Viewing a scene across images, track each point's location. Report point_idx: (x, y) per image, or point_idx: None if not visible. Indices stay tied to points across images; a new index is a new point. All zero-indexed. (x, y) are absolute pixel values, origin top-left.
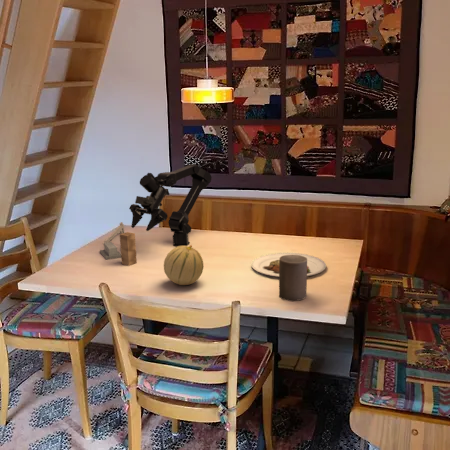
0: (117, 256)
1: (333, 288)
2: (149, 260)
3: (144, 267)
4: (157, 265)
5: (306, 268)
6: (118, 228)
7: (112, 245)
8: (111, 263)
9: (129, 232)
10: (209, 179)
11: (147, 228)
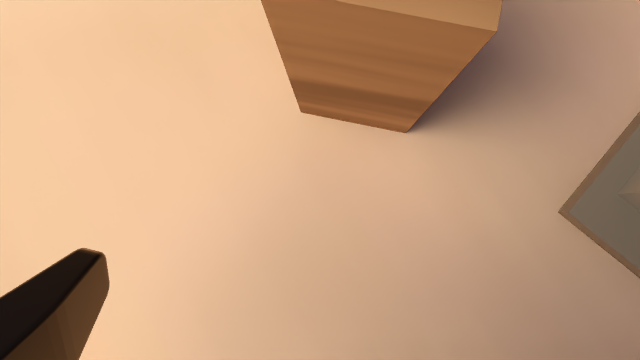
0: (598, 172)
1: None
2: (226, 235)
3: (153, 29)
4: (66, 129)
5: None
6: None
7: None
8: (535, 3)
9: (420, 3)
10: None
11: (48, 267)
